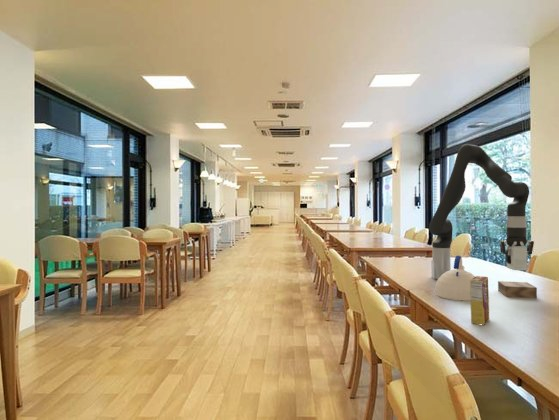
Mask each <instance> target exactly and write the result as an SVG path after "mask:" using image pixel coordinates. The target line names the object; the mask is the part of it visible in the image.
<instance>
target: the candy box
mask: <svg viewBox="0 0 559 420" xmlns="http://www.w3.org/2000/svg"><path fill="white" fill-rule="evenodd" d="M470 297H471V301H470V321H471V324H472V323H475V324H474V325H477V324H482V325H481V326H485V325H486V324H487V323H488V322H489V320H490V297H489V277H488V276H480V275H479V276H478V275H475V277H474V278H473V279H471V280H470ZM484 324H485V325H484Z"/></svg>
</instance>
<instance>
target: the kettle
mask: <svg viewBox="0 0 559 420" xmlns="http://www.w3.org/2000/svg"><path fill="white" fill-rule="evenodd" d="M474 277H476V275H474V274H473V273H471V272H470V271H467V270H465V266H464V265H463V257H462V256H461V255H456V256H455V257H454V261H453V269H451V270H450V271H447V272H445V273H444V274H442V275H441V276H440V277H439V278H438V279H436V280H437V281H436V283H435V289H434V294H435V295H436V296H437V297H439V298H442V299H447V300H454V301H461V300H463V301H464V302H465V301H466V302H467V301H469V302H471V297H470V280H471V279H473V278H474Z"/></svg>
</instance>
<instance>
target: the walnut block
mask: <svg viewBox="0 0 559 420" xmlns="http://www.w3.org/2000/svg"><path fill="white" fill-rule="evenodd" d="M497 289H498V290H497V291H498V292H499V293H500V294H501V295H502V296H504V297H505V298H518V299H519V298H521V299H537V298H538V294H537V293H538V288H537V287H536V286H535V285H533V284H531V283H529V282H528V281H527V282H526V281H504V280H499V281H497Z"/></svg>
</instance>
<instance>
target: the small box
mask: <svg viewBox="0 0 559 420" xmlns="http://www.w3.org/2000/svg"><path fill="white" fill-rule="evenodd" d="M524 246H525V245H524ZM524 246H513V247H509V248H511V254H510V256H511V264H508V263H507V262H506V268H507V269H510V270H513V271H528V256H527V247H528V246H525V247H524ZM507 247H508V244H506V245H505V249H506V251H507Z"/></svg>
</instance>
